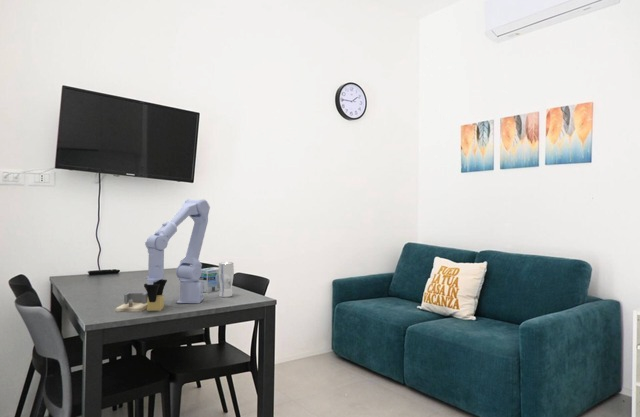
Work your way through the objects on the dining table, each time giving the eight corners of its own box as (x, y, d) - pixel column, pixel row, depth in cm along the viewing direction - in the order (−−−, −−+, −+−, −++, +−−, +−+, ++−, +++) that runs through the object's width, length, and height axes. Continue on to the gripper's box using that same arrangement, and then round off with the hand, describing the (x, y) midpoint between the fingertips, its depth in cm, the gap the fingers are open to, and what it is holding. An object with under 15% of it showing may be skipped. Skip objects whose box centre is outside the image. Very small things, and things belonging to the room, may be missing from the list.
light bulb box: (207, 293, 206) (207, 270, 206) (197, 291, 210) (198, 269, 210) (224, 289, 215) (224, 267, 215) (214, 288, 219) (214, 266, 219)
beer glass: (229, 297, 196) (230, 264, 196) (215, 296, 198) (215, 263, 198) (235, 294, 203) (236, 262, 203) (221, 294, 204) (222, 262, 204)
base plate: (152, 304, 182) (152, 295, 182) (141, 311, 169) (141, 301, 169) (127, 304, 181) (128, 295, 181) (115, 311, 168) (115, 301, 168)
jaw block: (163, 307, 176) (164, 295, 176) (160, 310, 171) (160, 297, 171) (151, 307, 175) (151, 295, 175) (147, 310, 170) (147, 297, 170)
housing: (149, 300, 181) (149, 292, 181) (145, 303, 176) (145, 294, 176) (127, 300, 181) (127, 292, 181) (122, 303, 176) (122, 294, 176)
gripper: (151, 263, 180) (151, 296, 180) (139, 267, 165) (138, 303, 165) (169, 263, 180) (168, 296, 180) (158, 268, 166) (157, 303, 166)
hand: (155, 300), depth 173 cm, fingers open, 7 cm apart
